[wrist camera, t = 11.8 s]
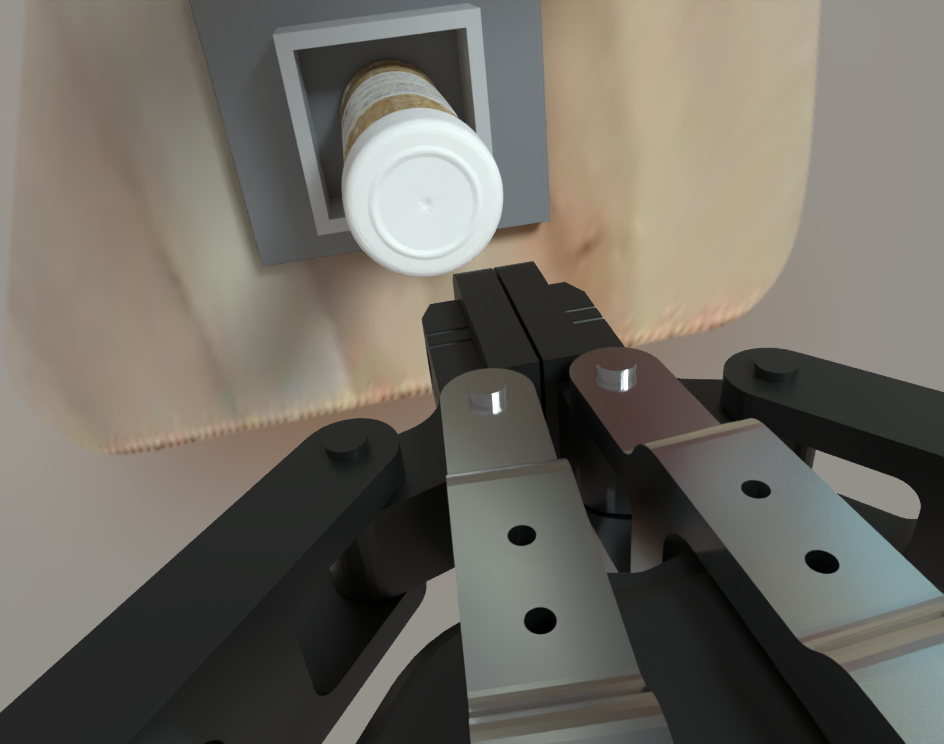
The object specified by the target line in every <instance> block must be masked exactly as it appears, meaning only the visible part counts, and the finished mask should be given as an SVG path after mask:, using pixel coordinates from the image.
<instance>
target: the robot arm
mask: <svg viewBox="0 0 944 744" xmlns="http://www.w3.org/2000/svg"><path fill="white" fill-rule="evenodd" d="M453 288H454V297H455V300H453V301H447V302H441V303H435V304H430V305H429V307H428V309H427V310H426V312H425V314H424V316H423V317H422V324H423V331H424V338H425V344H426V351H427V357H428V364H429V371H430V377H431V384H432V390H433V394H434V398H435V403H436V407H437V408H436V410H435V411H434V413H433V414H432V415H431V416H430V417H429V418H428V419H426V420H425V421H424V422H422V423H421V424H419V425H417V426H416V427H414V428H412V429H409V430H407V431H405V432H402V433H400V434H397V432H396V431H395V430H394V429H393V428H392V427H391V426H389V425H388V424H386V423H384V422H381V421H378V420H374V419H366V418H358V419H348V420H343V421H339V422H335V423H332V424H330V425H328V426H325V427H323V428H321V429H319V430H318V431H316V432H314V433H313V434H312V435H310V436H309V437H308V438H307V439H306V440H304V441H303V442H302V443H301V444H300V445H299V446H298V447H297V448H295V449H294V450H293V451H292V452H291V453H290V454H289V455H288V456H287V457H285V458H284V459H283V460H282V461H281V462H280V463H279V464H278V465H277V466H275V467H274V468H273V469H272V470H271V471H270V472H269V473H268V474H266V475H265V476H264V477H263V478H262V479H261V480H260V481H259V482H258V483H256V484H255V485H254V486H253V487H252V488H251V489H250V490H249V491H247V492H246V493H245V494H244V495H243V496H242V497H241V498H240V499H239V500H237V502H235V503H234V504H233V505H232V506H231V507H230V508H228V509H227V510H226V511H225V512H224V513H223V514H222V515H221V516H220V517H218V518H217V519H216V520H215V521H214V522H213V523H212V524H211V525H210V526H208V527H207V528H206V529H205V530H204V531H203V532H202V533H201V534H199V535H198V536H197V537H196V538H195V539H194V540H193V541H192V542H190V543H189V544H188V545H187V546H186V547H185V548H184V549H183V550H182V551H181V552H179V553H178V554H177V555H176V556H175V557H174V558H173V559H172V560H170V561H169V562H168V563H167V564H166V565H165V566H164V567H163V568H161V569H160V570H159V571H158V572H157V573H156V574H155V575H154V576H153V577H151V578H150V579H149V580H148V581H147V582H146V583H145V584H144V585H142V586H141V587H140V588H139V589H138V590H137V591H136V592H135V593H134V594H132V595H131V596H130V597H129V598H128V599H127V600H126V601H125V602H124V603H122V604H121V605H120V606H119V607H118V608H117V609H116V610H115V611H114V612H112V613H111V614H110V615H109V616H108V617H107V618H106V619H104V620H103V621H102V622H101V623H100V624H99V625H98V626H97V627H96V628H94V629H93V630H92V631H91V632H90V633H89V634H88V635H87V636H86V637H84V638H83V639H82V640H81V641H80V642H79V643H78V644H77V645H75V646H74V647H73V648H72V649H71V650H70V651H69V652H68V653H66V654H65V655H64V656H63V657H62V658H61V659H60V660H59V661H58V662H56V663H55V664H54V665H53V666H52V667H51V668H50V669H49V670H47V671H46V672H45V673H44V674H43V675H42V676H41V677H40V678H39V679H37V680H36V681H35V682H34V683H33V684H32V685H31V686H30V687H29V688H27V689H26V690H25V691H24V692H23V693H22V694H21V695H20V696H18V697H17V698H16V699H15V700H14V701H13V702H12V703H11V704H10V705H8V706H7V707H6V708H5V709H4V710H3V711H2V712H1V713H0V744H322V742H323V741H324V739H325V738H326V737H327V735H328V734H329V732H330V731H331V730H332V728H333V727H334V725H335V724H336V723H337V721H338V720H339V718H340V717H341V716H342V714H343V713H344V711H345V710H346V708H347V707H348V705H349V704H350V703H351V701H352V700H353V698H354V697H355V696H356V694H357V693H358V692H359V690H360V688H361V687H362V686H363V684H364V683H365V682H366V680H367V679H368V677H369V676H370V675H371V673H372V672H373V670H374V669H375V668H376V666H377V665H378V663H379V662H380V660H381V659H382V658H383V656H384V655H385V653H386V652H387V650H388V649H389V648H390V646H391V645H392V644H393V642H394V641H395V639H396V638H397V636H398V635H399V633H400V632H401V631H402V629H403V628H404V626H405V625H406V624H407V622H408V621H409V619H410V618H411V617H412V615H413V614H414V612H415V611H416V610H417V608H418V607H419V605H420V604H421V602H422V600H423V598H424V596H425V593H426V581H428V580H430V579H432V578H434V577H436V576H438V575H440V574H442V573H444V572H446V571H448V570H450V569H452V568H454V567H455V572H456V582H457V593H458V603H459V612H460V622H459V623H458V624H456V625H454V626H452V627H451V628H449V629H447V630H446V631H444V632H443V633H442V634H440V635H439V636H438V637H436V638H435V639H434V640H432V641H431V642H430V643H428V644H427V645H426V646H425V647H424V648H423V649H422V650H421V651H420V652H419V653H418V654H417V655H416V656H415V657H414V658H413V659H412V660H411V662H410V663H409V664H408V665H407V666H406V668H405V669H404V670H403V671H402V672H401V674H400V675H399V676H398V677H397V679H396V681H395V682H394V683H393V685H392V686H391V688H390V689H389V691H388V693H387V694H386V696H385V697H384V699H383V701H382V702H381V704H380V706H379V707H378V709H377V710H376V712H375V713H374V715H373V717H372V718H371V720H370V721H369V723H368V725H367V726H366V728H365V730H364V731H363V733H362V734H361V736H360V738H359V739H358V741H357V743H356V744H944V392H941V391H937V390H934V389H930V388H926V387H922V386H919V385H915V384H912V383H908V382H904V381H901V380H897V379H893V378H890V377H886V376H883V375H878V374H875V373H872V372H868V371H864V370H861V369H857V368H853V367H849V366H846V365H842V364H839V363H835V362H831V361H828V360H824V359H820V358H816V357H813V356H809V355H806V354H802V353H798V352H794V351H790V350H786V349H779V348H756V349H749V350H745V351H742V352H739V353H737V354H735V355H733V356H732V357H730V358H729V359H728V360H727V361H726V363H725V365H724V370H723V380H714V379H713V380H712V379H680V378H676V377H675V376H674V375H673V374H672V373H671V372H670V371H669V370H668V369H667V368H666V367H665V366H664V365H663V364H662V363H661V362H660V361H659V360H658V359H657V358H656V357H654V356H653V355H651V354H649V353H647V352H644V351H641V350H638V349H633V348H626V347H624V345H623V344H622V342H621V341H620V340H619V338H618V337H617V336H616V334H615V333H614V332H613V330H612V329H611V327H610V326H609V325H608V323H607V322H606V321H605V319H602V315H601V314H600V312H599V311H598V310H597V308H595V307H594V304H593V303H592V301H591V300H590V299H589V297H588V296H587V295H586V293H585V292H584V291H582V290H580V289H578V288H576V287H574V286H572V285H570V284H568V283H566V282H562V283H556V284H550V285H549V284H548V283H547V281H546V280H545V278H544V277H543V275H542V273H541V272H540V270H539V269H538V267H537V266H536V264H535V263H534V262H533V261H531V262H525V263H519V264H513V265H506V266H500V267H494V270H493V269H492V268H488V269H482V270H476V271H470V272H463V273H457V274H453ZM816 450H819V451H822V452H824V453H827V454H830V455H833V456H836V457H839V458H842V459H844V460H847V461H850V462H854V463H856V464H859V465H862V466H865V467H868V468H870V469H873V470H876V471H879V472H882V473H884V474H887V475H890V476H893V477H896V478H898V479H900V480H902V481H904V482H905V483H907V484H908V485H909V486H910V487H911V488H912V489H913V490H914V491H915V492H916V493H917V495H918V497H919V499H920V502H921V510H920V514H919V516H918V519H906V518H901V517H898V516H896V515H893V514H891V513H888V512H885V511H883V510H880V509H877V508H875V507H872V506H869V505H867V504H864V503H861V502H859V501H856V500H854V499H851V498H848V497H846V496H843V495H840V494H838V493H836V492H835V491H834V490H833V489H832V488H831V487H829V486H828V485H827V484H826V483H825V482H824V481H823V480H822V479H821V478H820V477H819V476H818V475H817V474H816V473H815V472H814V471H813V470H812V466H813V461H814V456H815V451H816Z"/></svg>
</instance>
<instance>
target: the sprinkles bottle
mask: <svg viewBox="0 0 944 744" xmlns="http://www.w3.org/2000/svg"><path fill="white" fill-rule="evenodd" d="M340 122H341V126H342V143H343V157H344V168H343V174H342V200H343V207H344V212H345V216H346V220H347V224H348V226H349V229H350V231H351V233H352V235H353V237H354V239H355V240H356V242H357V243H358V245H359V246H360V247H361V249H362V250H363V251H364V252H365V253H366V254H367V255H368V256H369V257H370V258H371V259H372V260H374V261H375V262H376V263H378V264H379V265H381V266H382V267H384V268H386V269H388V270H390V271H393V272H395V273H399V274H402V275H406V276H412V277H433V276H439V275H444V274H447V273H449V272H452V271H454V270H457V269H459V268H461V267H462V266H464V265H466V264H467V263H469V262H470V261H471V260H473V259H474V258H475V257H476V256H477V255H478V254H479V253H480V252H481V251H482V250H483V249H484V248H485V247H486V246H487V244H488V243H489V241H490V240H491V238H492V237H493V235H494V233H495V231H496V229H497V226H498V223H499V221H500V218H501V214H502V208H503V184H502V179H501V176H500V172H499V169H498V167H497V164H496V162H495V160H494V158H493V157H492V155H491V153H490V151H489V150H488V149H487V147H486V146H485V144H484V143H483V141H482V140H481V139H480V138H479V136H478V135H477V134H476V133H475V132H474V131H473V130H472V129H471V128H470V127H469V126H468V125H467V124H465V123H464V122H462V121H461V120H459V119H458V116H457V115H456V113H455V112H454V111H453V109H452V108H451V106H450V105H449V104H448V103H447V101H446V100H445V99H444V98H443V96H442V95H441V94H440V93H439V92H438V90H437V89H436V86H435V85H434V84H433V82H432V81H431V79H430V78H429V77H428V76H427V75H426V74H424V73H423V72H422V71H421V70H419V69H418V68H417V67H416V66H414V65H413V64H409V63H405V62H402V61H400V60H390V59H386V60H381V61H375V62H372V63H370V64H369V65H367V66H365V67H363V68H362V69H360V70H359V71H358V72H357V73H356V74H355V75H354V76H353V77H352V78H351V79H350V81H349V82H348V84H347V86H346V87H345V89H344V92H343V95H342V100H341V103H340Z"/></svg>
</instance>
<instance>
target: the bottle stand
mask: <svg viewBox="0 0 944 744" xmlns="http://www.w3.org/2000/svg"><path fill="white" fill-rule="evenodd" d="M189 1H190V4H191V8H192V11H193V15H194V19H195V22H196V26H197V30H198V33H199V37H200V41H201V44H202V48H203V51H204V55H205V59H206V62H207V66H208V70H209V73H210V77H211V80H212V84H213V88H214V91H215V95H216V99H217V102H218V106H219V110H220V113H221V117H222V120H223V124H224V128H225V131H226V135H227V139H228V142H229V146H230V150H231V153H232V157H233V160H234V164H235V168H236V171H237V175H238V179H239V182H240V186H241V189H242V193H243V197H244V200H245V204H246V208H247V211H248V215H249V219H250V222H251V226H252V229H253V233H254V237H255V240H256V244H257V248H258V251H259V255H260V258H261V262H262V266H268V265H275V264H281V263H287V262H294V261H300V260H306V259H312V258H319V257H325V256H331V255H338V254H344V253H350V252H356V251H363V250H362V249H361V247H360V246H359V245H358V243H357V242H356V240H355V239H354V237H353V235H352V233H351V231H350V229H349V226H348V224H347V220H346V216H345V212H344V207H343V200H342V174H343V168H344V157H343V143H342V126H341V122H340V103H341V100H342V95H343V92H344V89H345V87H346V86H347V84H348V82H349V81H350V79H351V78H352V77H353V76H354V75H355V74H356V73H357V72H358V71H359V70H360V69H362V68H363V67H365V66H367V65H369V64H370V63H372V62H375V61H381V60H386V59H390V60H400V61H402V62H405V63H409V64H413V65H414V66H416V67H417V68H418V69H419V70H421V71H422V72H423V73H424V74H426V75H427V76H428V77H429V78H430V79H431V81H432V82H433V84H434V85H435V86H436V89H437V90H438V92H439V93H440V94H441V95H442V96H443V98H444V99H445V100H446V101H447V103H448V104H449V105H450V106H451V108H452V109H453V111H454V112H455V113H456V115H457V116H458V119H459V120H461V121H462V122H464V123H465V124H467V125H468V126H469V127H470V128H471V129H472V130H473V131H474V132H475V133H476V134H477V135H478V136H479V138H480V139H481V140H482V141H483V143H484V144H485V146H486V147H487V149H488V150H489V151H490V153H491V155H492V157H493V158H494V160H495V162H496V164H497V167H498V169H499V172H500V176H501V179H502V184H503V208H502V214H501V218H500V221H499V223H498V226H497V229H501V228H507V227H513V226H520V225H526V224H532V223H539V222H545V221H550V199H549V177H548V156H547V134H546V112H545V90H544V68H543V46H542V25H541V3H540V0H189Z"/></svg>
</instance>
